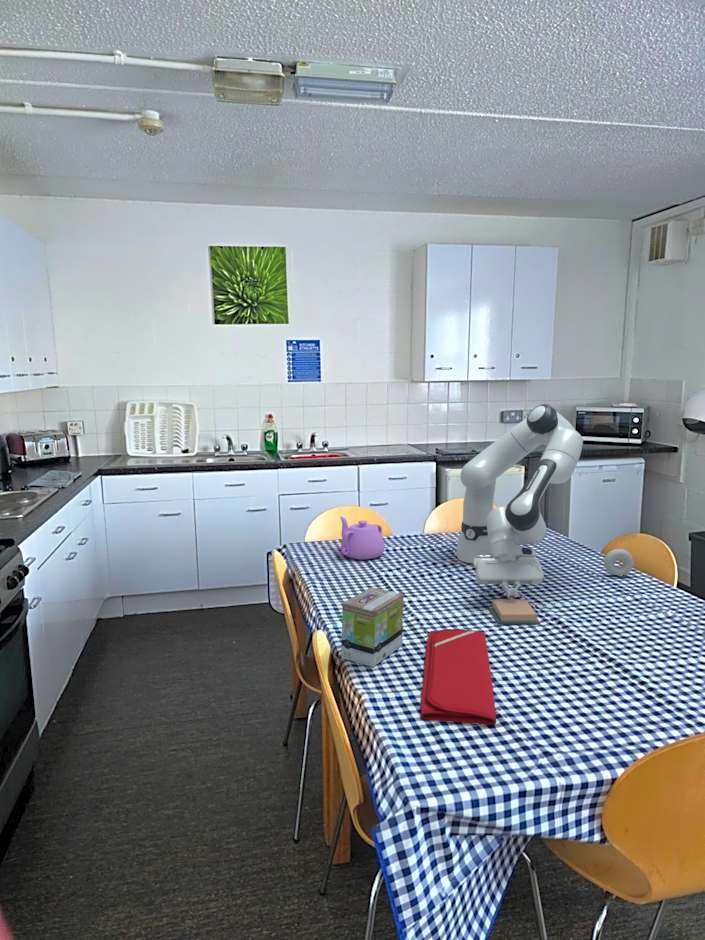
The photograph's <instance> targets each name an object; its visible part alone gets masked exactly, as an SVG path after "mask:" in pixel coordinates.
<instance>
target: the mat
mask: <svg viewBox="0 0 705 940" xmlns="http://www.w3.org/2000/svg"><path fill="white" fill-rule="evenodd" d="M489 612H490V614H491V615H492V617H493V619H494V621H495V623H496V624H497V625H541V624H540V621H539V619H538V618H537V622H509V623H501V621H500V619H499V617H498V616H497V614H496V612H495V611H494V609H493V607H489Z"/></svg>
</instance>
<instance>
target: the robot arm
mask: <svg viewBox="0 0 705 940" xmlns="http://www.w3.org/2000/svg"><path fill="white" fill-rule="evenodd" d="M583 444H584V439H583V437H582V435H581V434H580V433H579V431H577V430H576V429H575V428H574V426H573V425H572V424H571V423H570V422H569V421H568V419H566V418H565V417H564V416H562V414H561V413H560V412H558V411H557V410H556V409H555V408H554V407H553V406H551V405H549V404H546V403H543V404H539V405H537V406H535V407H534V408H532V410H530V412H529V413H528V414H527V417H526V418H525V419H524V420H522V421H520V422H519V423H517V424H516V425H514V426H513V427H512V428H510V429H509V430H508V431H507V432H505V433H504V434H503V435H501V436H500V437H499V438H497V439H496V440H495V441H494V442H492V443H491V444H490V445H489V446H487V447H486V448H484V449H483V450H482V451H481V452H480V453H478V454H477V455H476V456H474V457H473V458H472V459H470V460H469V461H468V462H467V463H465V464H464V465H463V467H462V469H461V471H460V482H461V484H462V485H463V486H464V488H465V493H464V499H463V501H462V502H463V505H462V507H463V508H462V509H463V510H462V521H461V525H460V529H461V531H460V532H461V533H459V534H458V535H457V536H458V537H457V547H456V551H454V552H453V555H454V556H455V557H457V560H459V561H461V562H463V563H464V562H465V563H468V564H472V565H473V567H474V568H475V582H476V583H477V584H478V585H501V586H500V587H501V588H502V590H504V592H505V593H506V594H505V595H506V597H507V598H517V597H518V595H519V593H518V592H519V591H518V590H519V586H520V585H540V584H541V583H542V582H543V580H544V578H545V577H544V571H543V568H542V566H541V562H540V560H539V559H538V557H536V554H537V553H536V550H535V549H533V548H530V547H525V546H528V545H534V544H539V542H541V541H542V540H544V539H545V537H546V536H547V532H548V531H547V530H548V528H547V525H546V523H545V519H544V517H543V515H542V514H541V509H540V500H541V499H542V497H543V495H544V493H545V492H546V490H547V488H548V486H549V484H555V485H559V484H563V483H566V482H567V481H569V479H570V478H571V476H572V475H573V473H574V472H575V470H576V467H577V465H578V462H579V460H580V457H581V453H582V449H583ZM541 445H542V446H543V445H545V446H546V448H545V449H544V451H543V453H542V455H541V458H540V460H539V461H538V462H537V463H536V465H535V466H534V467H533V469H532V471H531V472H530V473H529V475H528V477H527V479H526V481H525V482H524V484H523V486H522V488H521V489H520V491H519V492H518V493H517V494H516V495H515V496H514V497H513V498H512V499H511V500H510V501H509V502H508V504H507V505H506V506H498V507H495V508H493V507H494V498H495V492H496V482H497V481H496V480H497V479H498V478H499V477H501V475H503V474H504V473H506V472H508V470H510V469H511V468H512V467H513V466H515V465H516V464H517V463H518V462H520V461H521V460H522V459H524V458H525V457H526V456H528V455H529V454H530V453H531V452H533V451H534V450H535V449H536V448H538V447H539V446H541ZM508 585H513V587H514V589H510V588H509V586H508Z"/></svg>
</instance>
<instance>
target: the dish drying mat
mask: <svg viewBox="0 0 705 940" xmlns="http://www.w3.org/2000/svg"><path fill="white" fill-rule="evenodd" d="M425 646H426V647H425V658H424V665H423V666H424V668H423V677H422V678H423V680H422V686H421V687H422V688H421V697H420V718H421V720H424V721H436V720H438V722H439V721H440V722H449V721H454V722H453V723H460V722H465V723H464V724H471V723H478V724H477V725H482V724H484V725H485V726H495V725H496V724H497V714H496V707H495V706H496V705H495V695H494V687H493V678H492V673H491V666H490V665H491V664H490V659H489V650H488V646H487V638H486V633H485V632H483V631H481V630H471V629H456V628H452V629H451V628H447V629H439V630H437V631H436V630H435V631H434V630H432V631H429V633H428V637H427V642H426V645H425ZM484 725H483V726H484Z"/></svg>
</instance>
